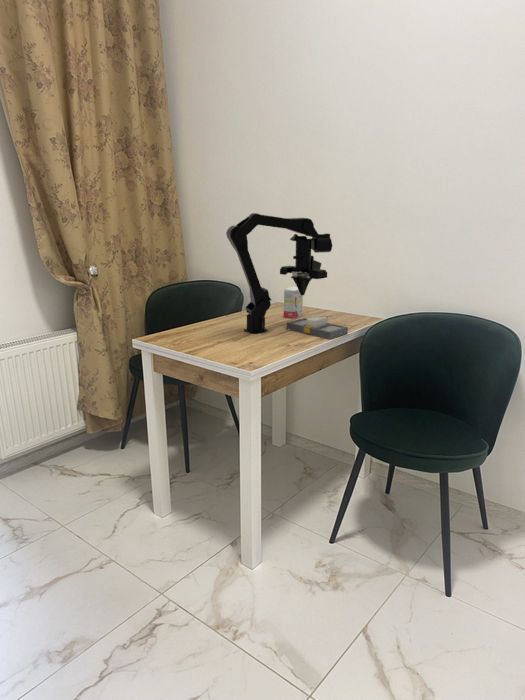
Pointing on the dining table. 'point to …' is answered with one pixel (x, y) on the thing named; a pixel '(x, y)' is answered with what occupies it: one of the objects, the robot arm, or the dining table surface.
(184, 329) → the dining table surface
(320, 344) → the dining table surface
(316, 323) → the light grey rectangular block
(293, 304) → the ink box
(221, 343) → the dining table surface
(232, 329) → the dining table surface
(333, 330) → the frame
